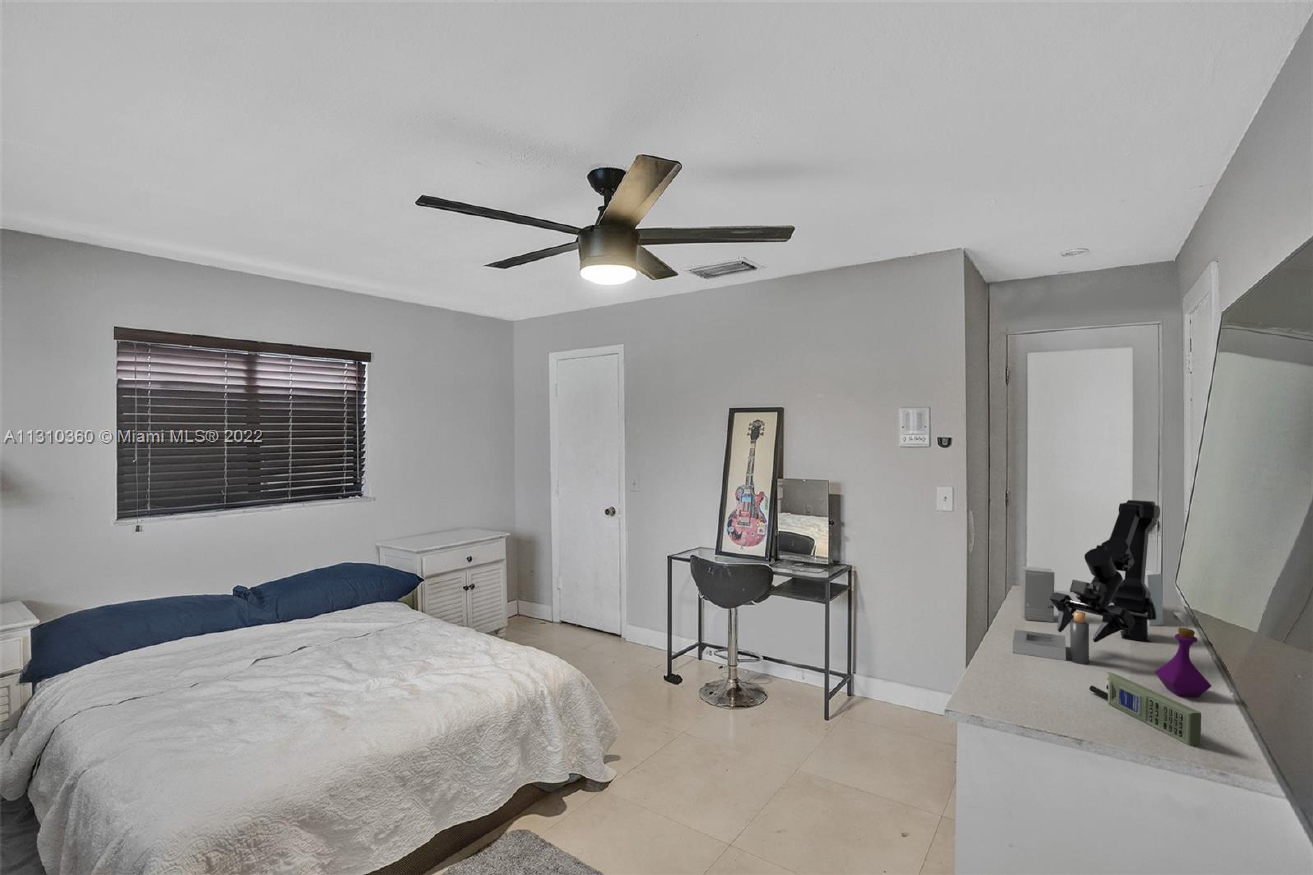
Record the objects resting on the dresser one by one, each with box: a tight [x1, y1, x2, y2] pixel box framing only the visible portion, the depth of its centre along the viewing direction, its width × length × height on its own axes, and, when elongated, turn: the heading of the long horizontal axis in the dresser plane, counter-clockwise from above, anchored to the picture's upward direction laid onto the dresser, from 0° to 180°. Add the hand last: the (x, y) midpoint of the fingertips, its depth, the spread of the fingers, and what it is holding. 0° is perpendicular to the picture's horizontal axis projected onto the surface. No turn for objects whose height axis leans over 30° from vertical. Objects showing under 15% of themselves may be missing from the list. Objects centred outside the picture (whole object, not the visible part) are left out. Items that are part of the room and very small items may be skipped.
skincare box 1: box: [1021, 566, 1055, 623], centre depth 202 cm, size 8×7×16 cm
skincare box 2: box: [1109, 569, 1164, 627], centre depth 204 cm, size 21×6×16 cm, turn 6°
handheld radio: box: [1088, 671, 1202, 747], centre depth 133 cm, size 7×3×25 cm
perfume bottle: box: [1154, 612, 1212, 698], centre depth 144 cm, size 8×8×18 cm
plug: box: [1069, 611, 1090, 665], centre depth 164 cm, size 4×4×12 cm
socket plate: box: [1012, 629, 1067, 661], centre depth 173 cm, size 12×12×3 cm
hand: (1076, 636), depth 164 cm, fingers open, 9 cm apart
